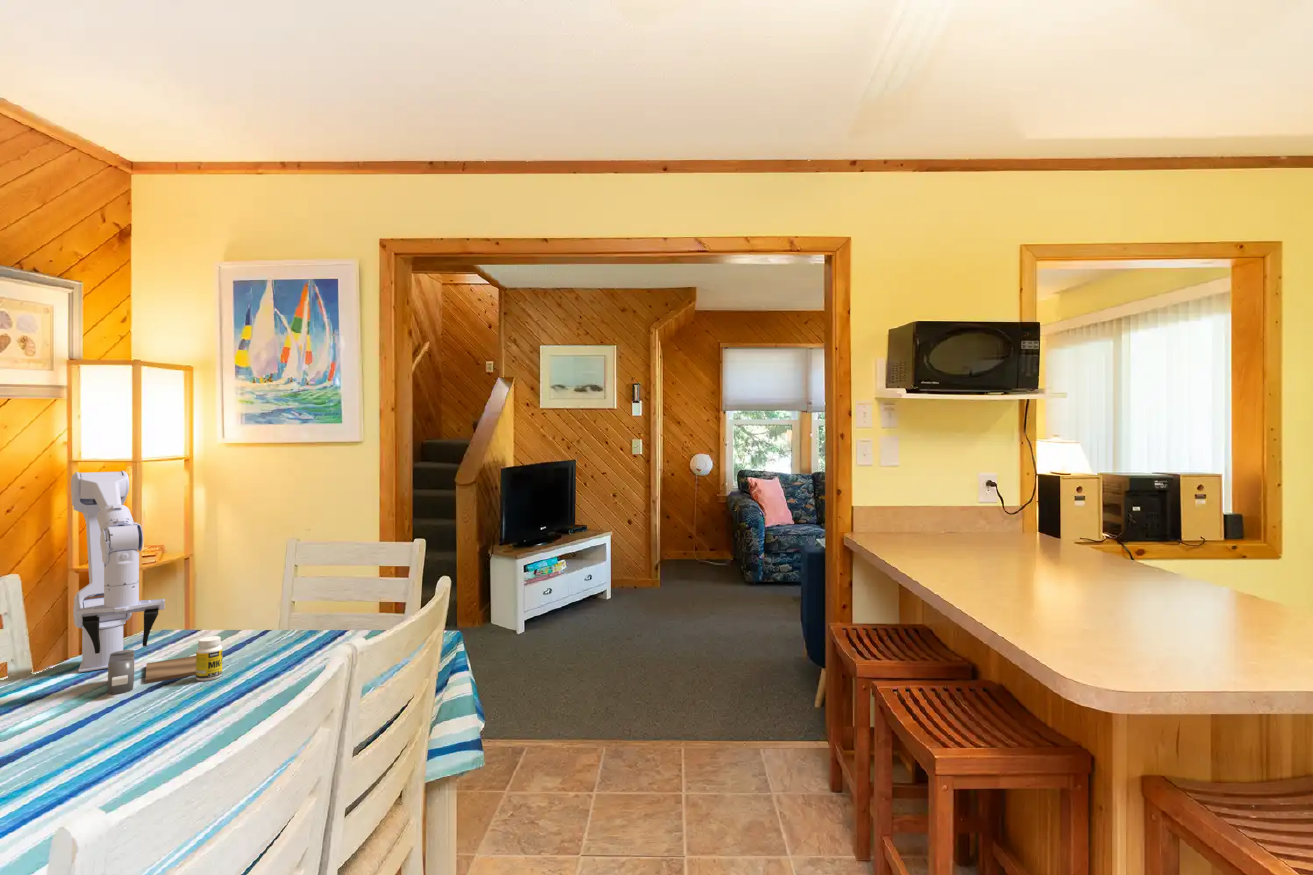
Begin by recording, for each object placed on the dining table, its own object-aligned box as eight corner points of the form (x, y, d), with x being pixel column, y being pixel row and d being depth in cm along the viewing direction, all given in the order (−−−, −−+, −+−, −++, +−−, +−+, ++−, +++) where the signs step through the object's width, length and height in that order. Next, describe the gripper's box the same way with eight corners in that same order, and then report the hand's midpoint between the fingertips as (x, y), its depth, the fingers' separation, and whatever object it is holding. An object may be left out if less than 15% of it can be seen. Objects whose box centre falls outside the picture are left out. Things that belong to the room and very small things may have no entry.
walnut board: (146, 666, 151) (146, 663, 151) (210, 656, 158) (210, 653, 158) (145, 683, 141) (145, 679, 141) (213, 671, 148) (213, 668, 148)
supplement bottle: (209, 682, 142) (209, 642, 142) (190, 680, 143) (190, 641, 143) (227, 674, 146) (227, 635, 146) (209, 672, 147) (209, 634, 147)
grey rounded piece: (110, 680, 143) (110, 652, 143) (134, 676, 145) (134, 648, 145) (106, 699, 132) (106, 668, 132) (132, 694, 135) (132, 664, 135)
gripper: (73, 591, 132) (73, 660, 132) (164, 582, 141) (164, 646, 141) (77, 585, 138) (77, 651, 138) (164, 576, 146) (164, 639, 146)
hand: (121, 648), depth 140 cm, fingers open, 7 cm apart
